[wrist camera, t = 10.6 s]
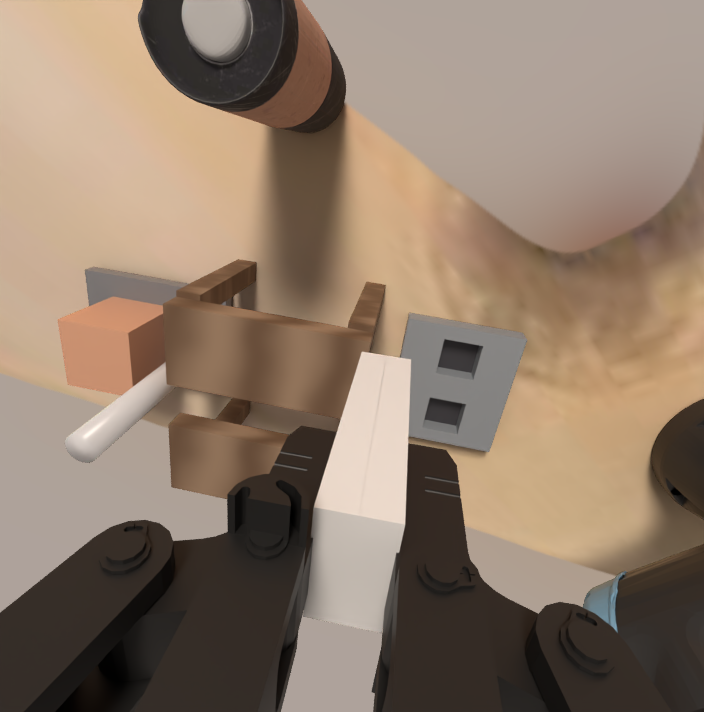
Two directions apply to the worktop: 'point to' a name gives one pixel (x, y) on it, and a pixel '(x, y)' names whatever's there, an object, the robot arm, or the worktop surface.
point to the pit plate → (459, 379)
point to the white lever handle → (117, 353)
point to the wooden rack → (251, 374)
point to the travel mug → (247, 59)
